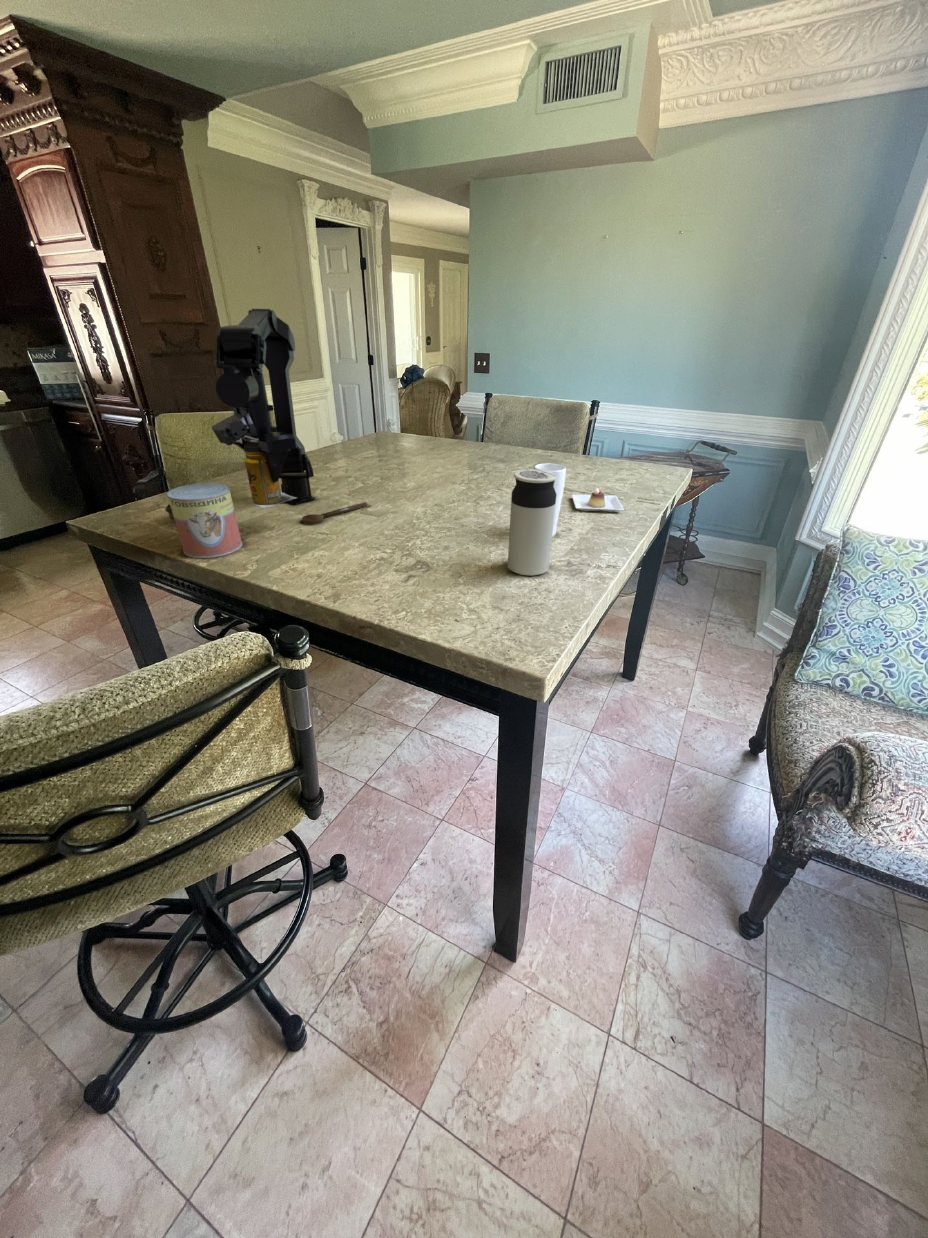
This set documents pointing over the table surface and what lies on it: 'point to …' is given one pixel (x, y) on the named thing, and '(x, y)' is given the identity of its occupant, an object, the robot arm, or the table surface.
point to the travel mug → (531, 522)
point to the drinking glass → (555, 486)
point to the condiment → (262, 479)
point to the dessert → (597, 502)
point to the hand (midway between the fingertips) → (267, 478)
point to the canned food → (205, 519)
